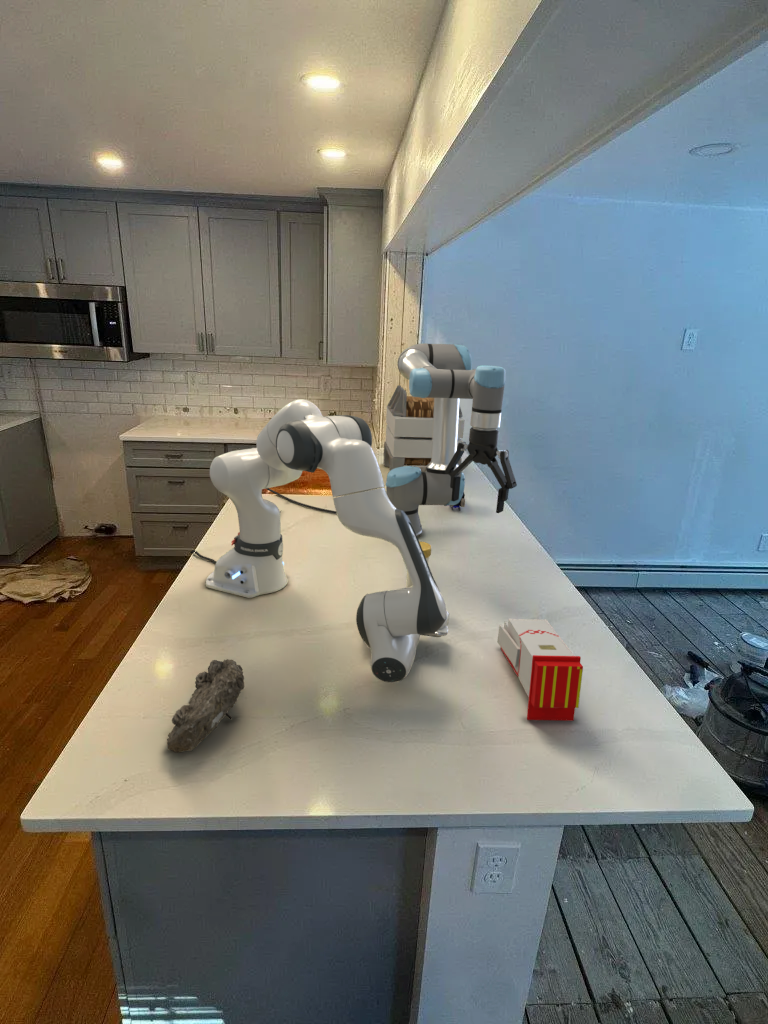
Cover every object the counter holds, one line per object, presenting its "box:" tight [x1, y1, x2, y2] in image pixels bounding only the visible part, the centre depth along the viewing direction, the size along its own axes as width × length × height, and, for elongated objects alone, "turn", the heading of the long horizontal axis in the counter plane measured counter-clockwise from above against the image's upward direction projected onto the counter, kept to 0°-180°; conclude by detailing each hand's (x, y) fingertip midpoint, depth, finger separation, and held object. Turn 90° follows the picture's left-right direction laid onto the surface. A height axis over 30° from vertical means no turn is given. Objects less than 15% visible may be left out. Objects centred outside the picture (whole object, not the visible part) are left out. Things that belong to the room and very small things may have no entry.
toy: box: [497, 618, 584, 722], centre depth 122 cm, size 12×13×30 cm
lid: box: [419, 540, 432, 558], centre depth 148 cm, size 6×6×2 cm
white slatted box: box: [383, 384, 465, 471], centre depth 268 cm, size 34×33×41 cm
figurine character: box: [448, 492, 466, 511], centre depth 229 cm, size 7×8×15 cm
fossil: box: [166, 658, 245, 754], centre depth 106 cm, size 22×10×15 cm
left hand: (410, 601), depth 141 cm, fingers open, 8 cm apart
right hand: (476, 506), depth 153 cm, fingers open, 13 cm apart
